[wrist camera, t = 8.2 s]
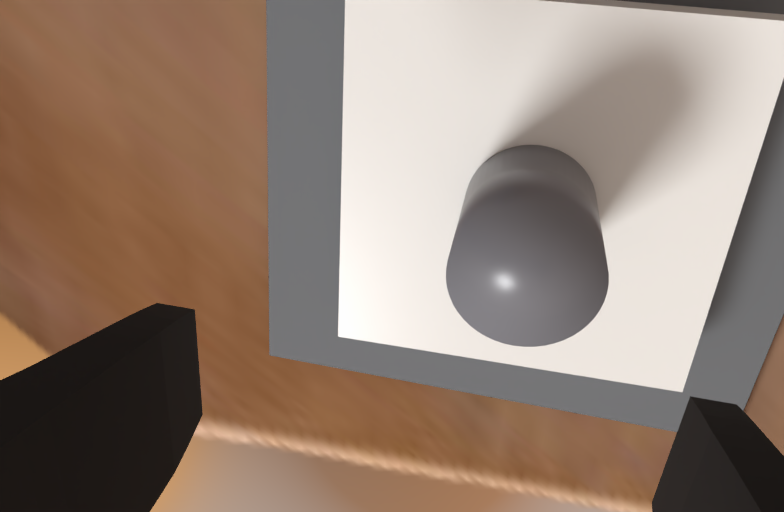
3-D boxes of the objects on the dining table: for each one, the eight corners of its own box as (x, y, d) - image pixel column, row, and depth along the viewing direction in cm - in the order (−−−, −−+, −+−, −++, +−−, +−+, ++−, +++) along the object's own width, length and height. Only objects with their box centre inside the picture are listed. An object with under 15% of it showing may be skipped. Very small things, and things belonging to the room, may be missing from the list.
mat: (274, 346, 22) (269, 355, 22) (272, -156, 16) (265, -158, 15) (726, 430, 20) (730, 442, 20) (942, -101, 14) (956, -100, 13)
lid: (354, 302, 20) (297, 422, 16) (364, -25, 16) (292, 7, 11) (670, 351, 19) (710, 497, 14) (774, 9, 15) (878, 60, 10)
